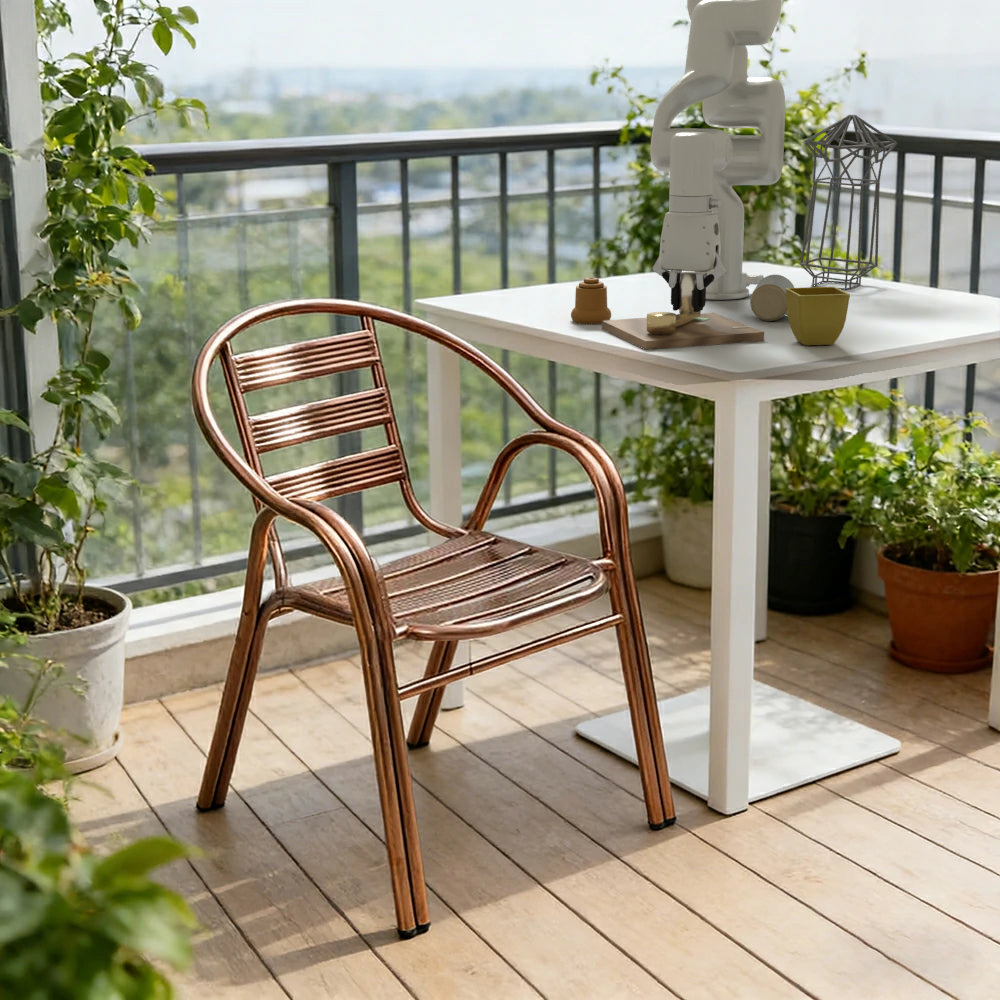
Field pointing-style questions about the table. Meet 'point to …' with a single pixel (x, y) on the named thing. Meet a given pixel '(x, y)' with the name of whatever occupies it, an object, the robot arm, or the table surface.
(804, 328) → the flower pot
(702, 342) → the brown flat wooden board
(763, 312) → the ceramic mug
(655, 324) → the lever
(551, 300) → the table surface
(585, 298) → the ornamental finial
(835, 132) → the geometric lantern
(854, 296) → the table surface
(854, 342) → the table surface
